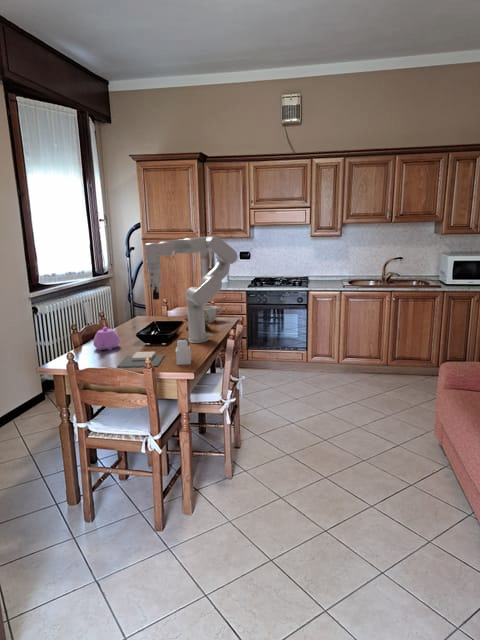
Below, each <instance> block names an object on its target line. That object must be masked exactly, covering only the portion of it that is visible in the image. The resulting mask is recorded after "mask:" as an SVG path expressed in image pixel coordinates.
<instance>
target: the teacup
mask: <svg viewBox="0 0 480 640" xmlns="http://www.w3.org/2000/svg"><path fill="white" fill-rule="evenodd" d="M203 307H204V310H205V311H206V313H207V314H208V315H209V319H208V323H213V322H214V320H215V319H216V317H217V316H218V315H220V314H221V313H222V311H223V309H222V307H220V306H217V305H203ZM219 310H220V311H219ZM217 311H219V312H217Z"/></svg>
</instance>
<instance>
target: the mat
mask: <svg viewBox="0 0 480 640" xmlns="http://www.w3.org/2000/svg"><path fill="white" fill-rule="evenodd" d="M132 357H133V355H126V356H125V357H124V358H123V359H122V361H121V362H119V363H118V365H117V366H116V368H120V367H124V368H145V367H144V365H145V360H141V361H132V359H131V358H132ZM164 357H165V354H155V355H154V357H153V358H152V360H151V361H152V364H153V365H155V366H157V367H159V365H160V364H161V362H162V361H163V359H164Z"/></svg>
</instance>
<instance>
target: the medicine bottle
mask: <svg viewBox="0 0 480 640" xmlns="http://www.w3.org/2000/svg"><path fill="white" fill-rule="evenodd" d="M175 364H176V365H175V366H182V365H184V366H185V365H191V364H192V353H191V346H190V344H189V340H188V339H187V338H178V339H176V347H175Z"/></svg>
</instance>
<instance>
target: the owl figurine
mask: <svg viewBox="0 0 480 640" xmlns="http://www.w3.org/2000/svg"><path fill="white" fill-rule="evenodd" d="M183 319H184V321H186V322H187V323H188V312H187V313H186V317H184V318H183ZM208 319H209V315H208V314H207V313H206V311H205V310H204V321H205V332H206V333H207V332H210V331H211V330H212V329H211V327H209V323H210V322H208ZM185 329H186V331H187V332H189V328H188V326H186V328H185Z"/></svg>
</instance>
